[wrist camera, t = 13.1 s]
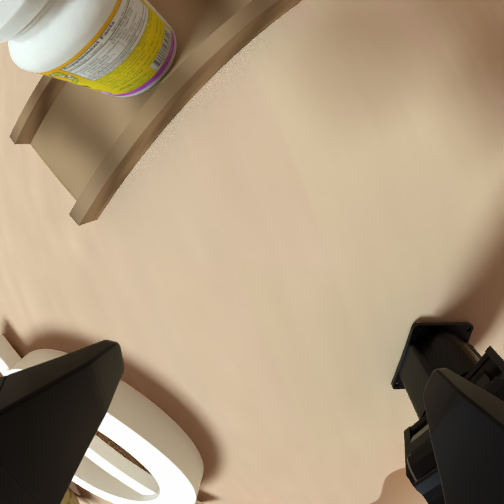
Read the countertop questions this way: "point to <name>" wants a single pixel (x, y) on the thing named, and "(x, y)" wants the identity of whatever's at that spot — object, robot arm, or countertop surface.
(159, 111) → the oak track
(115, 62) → the supplement bottle
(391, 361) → the countertop surface
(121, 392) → the ring with crossbar
